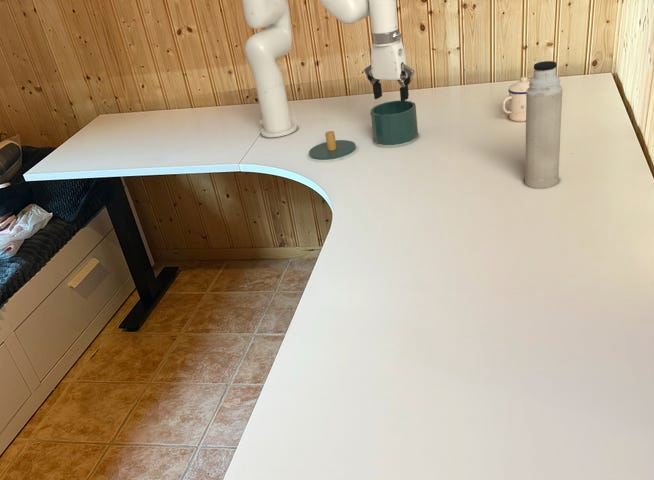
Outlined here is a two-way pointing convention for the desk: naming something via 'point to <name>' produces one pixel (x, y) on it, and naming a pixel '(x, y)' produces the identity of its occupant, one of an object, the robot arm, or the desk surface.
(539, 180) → the thermos bottle
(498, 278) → the desk surface
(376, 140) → the tin
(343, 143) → the lid
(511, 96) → the teacup with lid
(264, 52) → the robot arm
